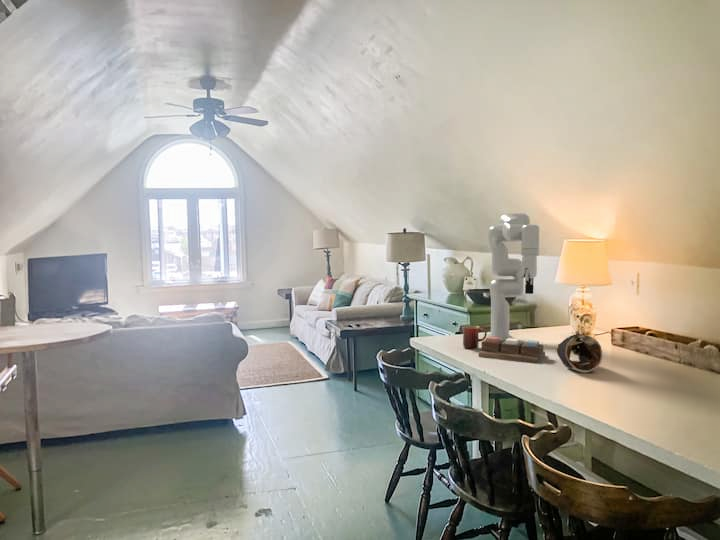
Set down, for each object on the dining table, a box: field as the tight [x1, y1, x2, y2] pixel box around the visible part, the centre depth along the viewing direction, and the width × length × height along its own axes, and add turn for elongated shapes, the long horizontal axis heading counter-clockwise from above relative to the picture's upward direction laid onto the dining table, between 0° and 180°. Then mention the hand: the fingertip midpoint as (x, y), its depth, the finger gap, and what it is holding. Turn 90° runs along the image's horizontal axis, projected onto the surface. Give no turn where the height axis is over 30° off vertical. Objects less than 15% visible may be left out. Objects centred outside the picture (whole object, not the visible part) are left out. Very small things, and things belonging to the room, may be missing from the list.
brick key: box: [485, 336, 500, 343], centre depth 255 cm, size 5×5×4 cm
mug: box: [461, 325, 488, 350], centre depth 269 cm, size 12×9×10 cm
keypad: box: [478, 339, 546, 364], centre depth 251 cm, size 16×26×6 cm, turn 59°
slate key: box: [525, 339, 540, 347], centre depth 246 cm, size 5×5×4 cm
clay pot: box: [556, 333, 603, 373], centre depth 233 cm, size 15×15×25 cm
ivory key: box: [504, 337, 520, 345], centre depth 251 cm, size 5×5×4 cm
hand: (529, 293), depth 246 cm, fingers closed
